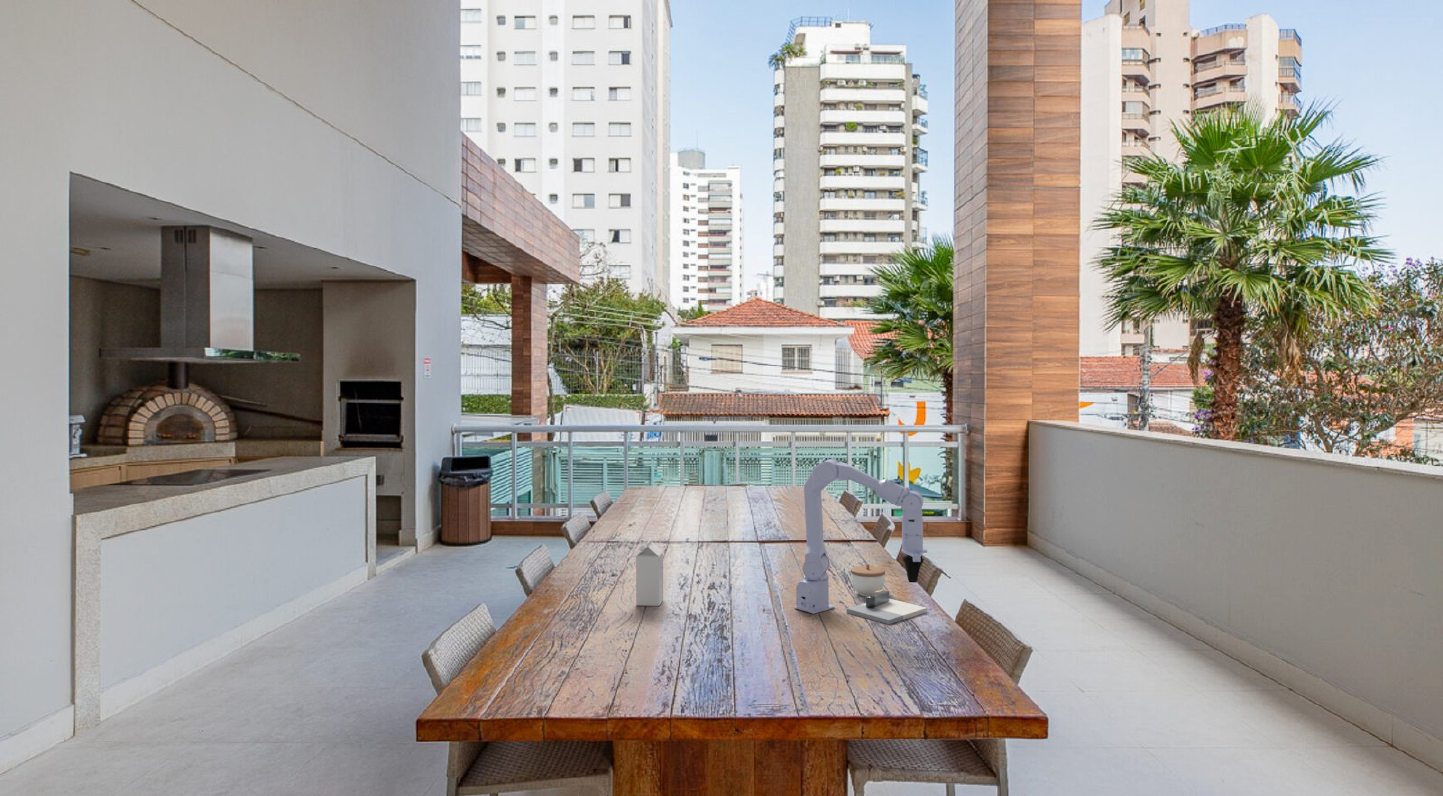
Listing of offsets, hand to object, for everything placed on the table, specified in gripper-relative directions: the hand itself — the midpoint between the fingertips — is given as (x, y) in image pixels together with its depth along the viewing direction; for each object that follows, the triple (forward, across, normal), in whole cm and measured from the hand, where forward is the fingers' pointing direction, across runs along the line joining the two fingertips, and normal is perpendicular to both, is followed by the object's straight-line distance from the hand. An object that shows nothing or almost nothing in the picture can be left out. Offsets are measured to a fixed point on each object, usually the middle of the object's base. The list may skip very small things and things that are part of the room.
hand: (912, 581), depth 217 cm
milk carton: (+10, +9, +77) cm, 78 cm away
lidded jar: (+10, +24, +10) cm, 28 cm away
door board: (+10, +4, +7) cm, 13 cm away
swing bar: (+8, +7, +9) cm, 14 cm away
